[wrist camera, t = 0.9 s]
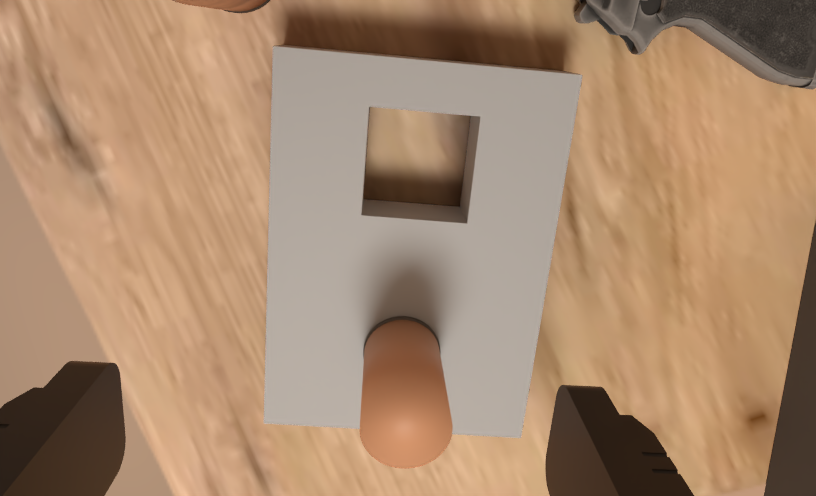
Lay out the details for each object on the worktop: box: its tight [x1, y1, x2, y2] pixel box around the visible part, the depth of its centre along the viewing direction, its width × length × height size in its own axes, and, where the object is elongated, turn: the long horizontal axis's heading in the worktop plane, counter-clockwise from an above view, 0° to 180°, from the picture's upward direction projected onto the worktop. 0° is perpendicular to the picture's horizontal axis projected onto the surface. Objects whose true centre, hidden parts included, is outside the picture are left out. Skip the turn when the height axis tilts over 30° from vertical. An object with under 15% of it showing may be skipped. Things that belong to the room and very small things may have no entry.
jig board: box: [264, 45, 582, 468], centre depth 28 cm, size 18×13×10 cm
